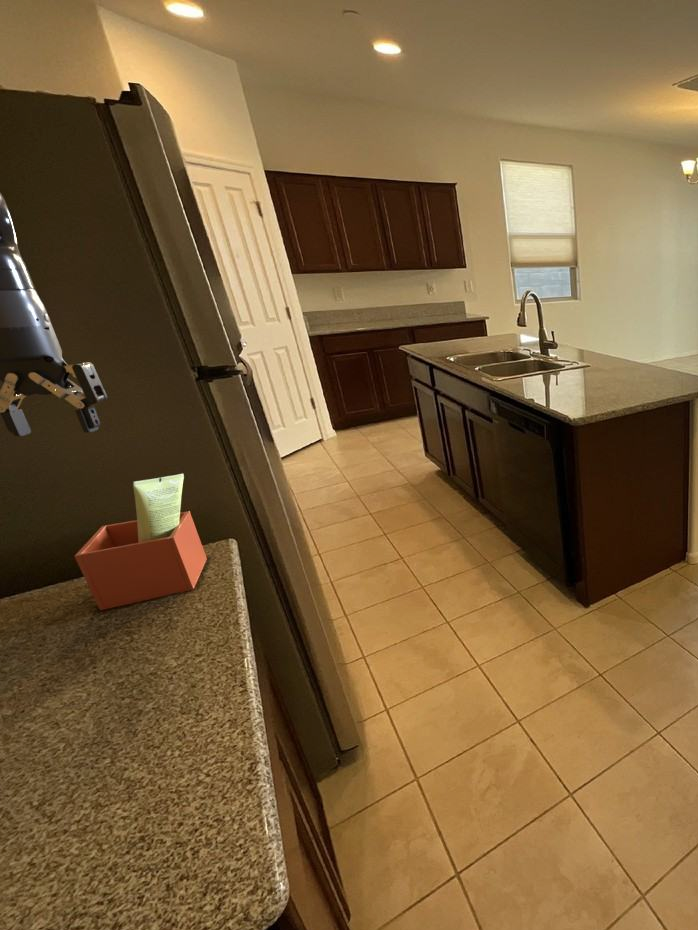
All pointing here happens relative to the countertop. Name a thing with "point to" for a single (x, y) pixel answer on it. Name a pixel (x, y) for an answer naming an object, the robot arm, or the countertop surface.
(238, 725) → the countertop surface
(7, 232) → the robot arm
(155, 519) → the tube
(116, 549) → the trash bin
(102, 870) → the countertop surface
